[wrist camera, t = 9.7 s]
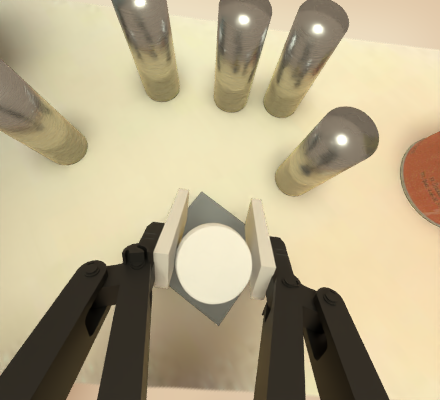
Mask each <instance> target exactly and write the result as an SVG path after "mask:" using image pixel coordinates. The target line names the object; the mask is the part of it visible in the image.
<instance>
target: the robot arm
mask: <svg viewBox="0 0 440 400" xmlns="http://www.w3.org/2000/svg"><path fill="white" fill-rule="evenodd" d="M188 198H189V190H187V189H180V188H179V190H178V192H177V195H176V197H175V200H174V202H173V205H172V207H171V210H170V212H169V215H168V217H167V220H166V222H165V223H158V222H152V223H151V224H150V225H148V226H147V228H146V230H145V232H144V234H143V236H142V238H141V240H140V242H139V243H137V244H132V245H130V246H127V247H126V248H125V249H124V250H123V252H122V257H123V263H122V264H118V265H112V266H106V264H105V263H104V262H102V261H99V260H95V261H90V262H87V263H85V264H83V265H82V266H81V267H80V268H79V269H78V270H77V271H76V273H75V274H74V275H73V277H72V278H71V279H70V281H69V282H68V284H67V285H66V286H65V288H64V289H63V290H62V292H61V293H60V295H59V296H58V297H57V299H56V300H55V301H54V303H53V304H52V306H51V307H50V308H49V310H48V311H47V312H46V314H45V315H44V317H43V318H42V319H41V321H40V322H39V323H38V325H37V326H36V328H35V329H34V330H33V332H32V333H31V334H30V336H29V337H28V339H27V340H26V341H25V343H24V344H23V345H22V347H21V348H20V349H19V351H18V352H17V354H16V355H15V356H14V358H13V359H12V360H11V362H10V363H9V365H8V366H7V367H6V369H5V370H4V371H3V373H2V374H1V376H0V400H66V398H67V396H68V394H69V392H70V390H71V388H72V386H73V384H74V382H75V380H76V378H77V376H78V374H79V372H80V369H81V367H82V365H83V363H84V361H85V359H86V357H87V355H88V353H89V351H90V349H91V347H92V345H93V343H94V341H95V338H96V336H97V334H98V332H99V330H100V328H101V326H102V324H103V322H104V320H105V318H106V316H107V314H108V312H109V310H110V308H111V305H115V304H116V307H115V312H114V317H113V322H112V327H111V332H110V337H109V342H108V347H107V352H106V358H105V363H104V368H103V373H102V378H101V383H100V388H99V393H98V398H97V400H146V394H147V378H148V360H149V342H150V324H151V307H152V288H153V285H154V283H155V287H158V288H167V289H168V287H169V283H170V280H171V276H172V272H173V269H174V265H175V256H176V251H177V248H178V245H179V243H180V242H181V239H182V236H183V232H184V228H185V225H186V221H187V213H188ZM245 237H246V244H247V246H248V248H249V250H250V253H251V257H252V272H251V276H250V279H249V286H250V298H251V299H260V300H264V298H265V295H266V298H267V303H266V305H265V308H264V310H263V313H262V315H264V318H263V326H262V335H261V343H260V351H259V359H258V367H257V376H256V384H255V392H254V400H305V371H304V342H303V335H304V339H305V343H306V347H307V351H308V354H309V358H310V362H311V366H312V370H313V373H314V377H315V381H316V385H317V389H318V392H319V396H320V400H389V398H388V395H387V393H386V391H385V389H384V387H383V385H382V383H381V380H380V378H379V376H378V374H377V372H376V370H375V368H374V365H373V363H372V361H371V359H370V357H369V355H368V353H367V350H366V348H365V346H364V344H363V342H362V340H361V338H360V335H359V333H358V331H357V329H356V327H355V325H354V323H353V320H352V318H351V316H350V314H349V312H348V310H347V308H346V305H345V303H344V301H343V299H342V298H341V296H340V295H339V294H338V293H337V292H336V291H334V290H332V289H330V288H326V287H323V288H320V289H318V291H315V290H313V289H310V288H308V287H306V286H304V285H302V284H301V282H300V281H299V279H298V278H297V277H296V276H294V274H293V271H292V267H291V264H290V261H289V257H288V254H287V251H286V247H285V244H284V242H283V241H282V240H281V238H278V237H271V236H269V233H268V228H267V223H266V219H265V214H264V210H263V205H262V200H261V199H254V198H251V202H250V206H249V210H248V214H247V218H246V222H245Z"/></svg>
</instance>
